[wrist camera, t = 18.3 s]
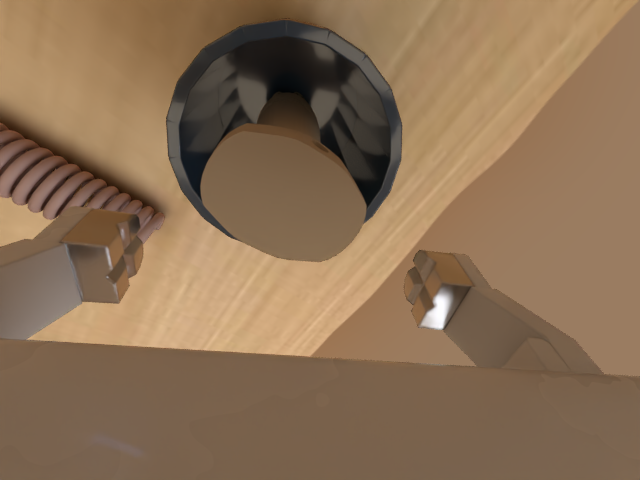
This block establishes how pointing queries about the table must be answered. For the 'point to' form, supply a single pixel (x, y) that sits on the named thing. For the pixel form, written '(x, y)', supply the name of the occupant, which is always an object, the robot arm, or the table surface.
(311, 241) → the handle
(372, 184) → the open cylindrical bucket
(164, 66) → the table surface
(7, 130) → the coil
